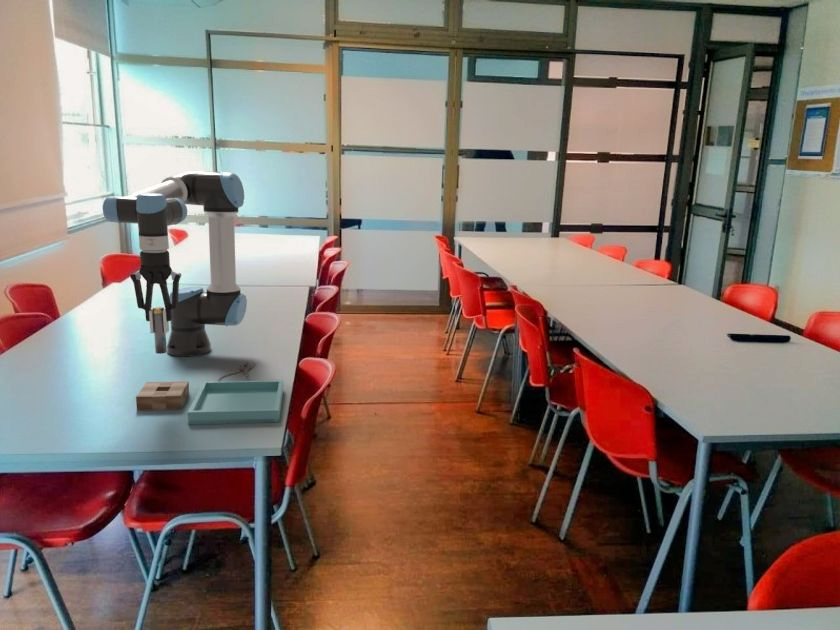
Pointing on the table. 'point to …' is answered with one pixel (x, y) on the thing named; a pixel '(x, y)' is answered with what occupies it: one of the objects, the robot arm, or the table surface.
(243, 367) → the pliers
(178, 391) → the pin block
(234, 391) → the tray
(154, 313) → the pin
